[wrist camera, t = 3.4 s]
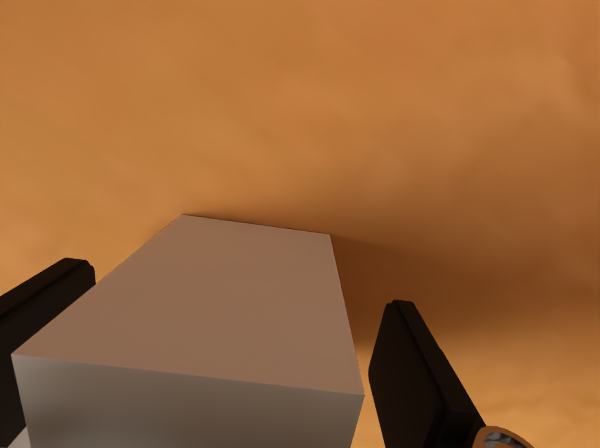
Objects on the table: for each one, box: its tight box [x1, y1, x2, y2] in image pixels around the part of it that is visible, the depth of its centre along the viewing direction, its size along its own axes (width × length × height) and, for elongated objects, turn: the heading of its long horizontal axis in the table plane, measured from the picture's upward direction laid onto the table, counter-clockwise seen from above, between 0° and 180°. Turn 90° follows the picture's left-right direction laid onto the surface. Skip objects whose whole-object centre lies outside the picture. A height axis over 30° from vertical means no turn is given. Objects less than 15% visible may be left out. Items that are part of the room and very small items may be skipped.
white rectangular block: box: [11, 214, 365, 448], centre depth 9 cm, size 5×5×7 cm
